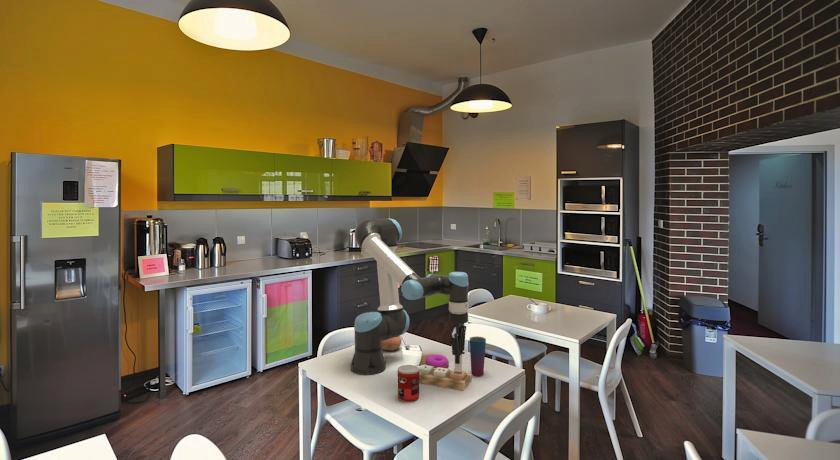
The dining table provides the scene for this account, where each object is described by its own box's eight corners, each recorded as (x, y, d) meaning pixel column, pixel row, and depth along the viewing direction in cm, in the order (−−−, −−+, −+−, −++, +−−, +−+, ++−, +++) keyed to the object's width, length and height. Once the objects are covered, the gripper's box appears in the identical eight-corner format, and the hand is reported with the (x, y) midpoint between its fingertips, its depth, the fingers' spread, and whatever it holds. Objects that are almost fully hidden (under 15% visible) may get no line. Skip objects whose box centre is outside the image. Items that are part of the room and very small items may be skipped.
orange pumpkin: (401, 352, 213) (401, 336, 213) (378, 353, 213) (378, 336, 213) (401, 345, 224) (401, 330, 224) (380, 345, 224) (380, 330, 224)
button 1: (417, 373, 181) (417, 368, 181) (422, 369, 186) (422, 364, 186) (428, 375, 179) (428, 370, 179) (433, 371, 184) (433, 365, 184)
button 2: (433, 376, 179) (433, 370, 178) (438, 372, 183) (438, 366, 183) (445, 378, 176) (445, 372, 176) (449, 374, 181) (449, 368, 181)
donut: (436, 373, 189) (436, 362, 189) (420, 366, 196) (420, 356, 196) (453, 367, 196) (453, 356, 195) (437, 360, 203) (437, 351, 203)
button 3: (449, 379, 176) (449, 373, 176) (454, 374, 180) (454, 369, 180) (462, 381, 174) (462, 375, 173) (466, 376, 178) (466, 371, 178)
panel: (411, 381, 180) (411, 373, 180) (421, 372, 189) (421, 365, 189) (463, 390, 171) (463, 382, 171) (471, 381, 180) (471, 373, 180)
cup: (485, 377, 183) (485, 341, 182) (468, 376, 185) (468, 340, 184) (486, 371, 190) (486, 336, 189) (470, 370, 191) (470, 336, 190)
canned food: (397, 393, 168) (397, 364, 168) (418, 392, 169) (418, 364, 168) (398, 402, 161) (397, 372, 160) (420, 401, 161) (420, 371, 161)
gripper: (462, 316, 168) (462, 378, 169) (472, 309, 180) (472, 366, 181) (443, 314, 171) (443, 375, 172) (455, 307, 183) (455, 363, 184)
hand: (458, 370), depth 177 cm, fingers closed
